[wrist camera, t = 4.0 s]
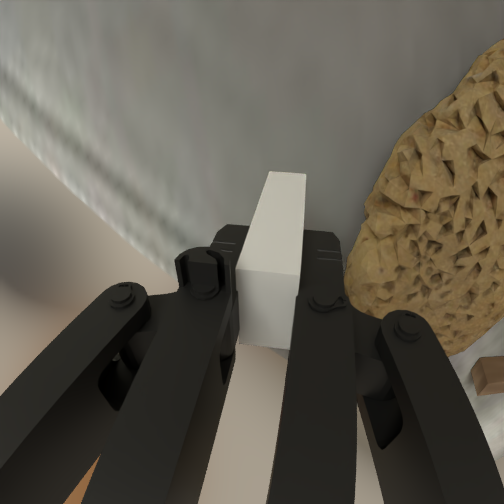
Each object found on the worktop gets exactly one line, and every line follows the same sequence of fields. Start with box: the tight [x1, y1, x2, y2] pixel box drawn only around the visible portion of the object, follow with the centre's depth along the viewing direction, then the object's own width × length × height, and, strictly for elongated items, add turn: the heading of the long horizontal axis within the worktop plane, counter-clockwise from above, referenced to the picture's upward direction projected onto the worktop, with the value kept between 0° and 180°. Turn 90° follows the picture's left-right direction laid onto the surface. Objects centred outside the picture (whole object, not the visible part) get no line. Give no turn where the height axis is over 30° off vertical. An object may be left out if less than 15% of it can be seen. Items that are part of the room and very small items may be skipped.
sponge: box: [344, 39, 504, 357], centre depth 13 cm, size 13×8×20 cm
